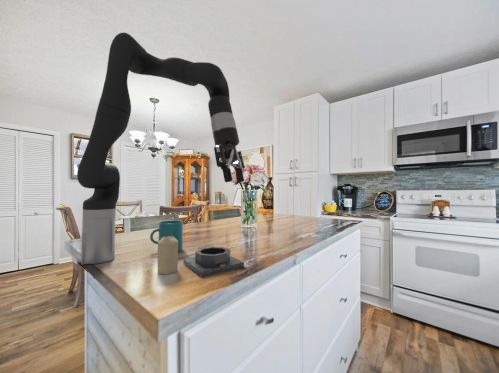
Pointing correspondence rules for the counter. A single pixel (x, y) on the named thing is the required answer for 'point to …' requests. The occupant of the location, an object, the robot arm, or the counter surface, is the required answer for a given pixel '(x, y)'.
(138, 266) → the counter surface
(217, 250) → the mount
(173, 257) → the candle
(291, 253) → the counter surface
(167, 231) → the cup
